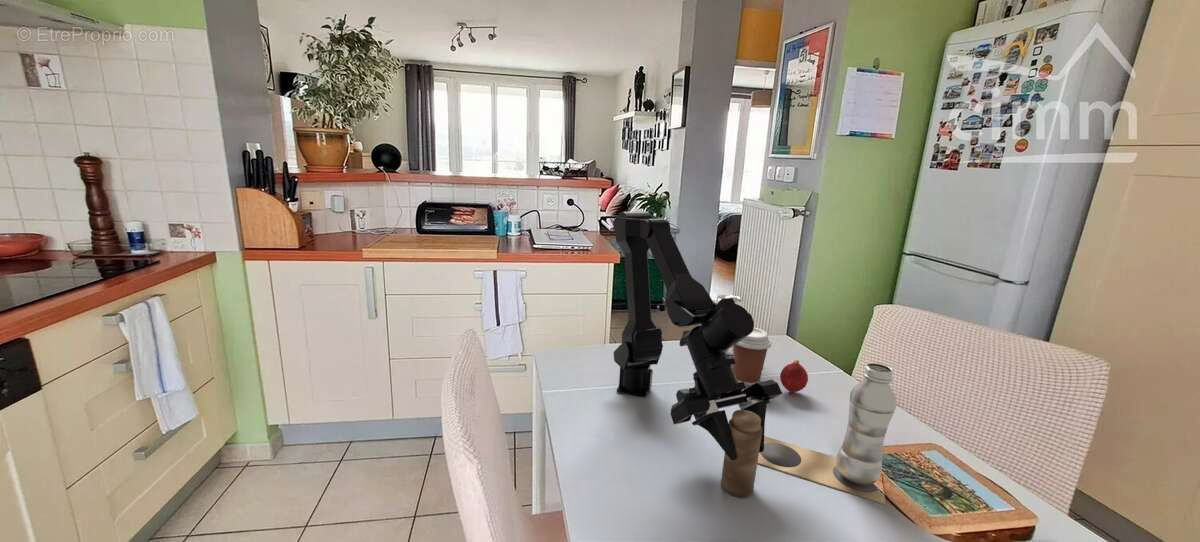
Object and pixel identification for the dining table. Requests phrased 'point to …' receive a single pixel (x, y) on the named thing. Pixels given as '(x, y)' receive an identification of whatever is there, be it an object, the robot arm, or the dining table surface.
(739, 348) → the coffee cup
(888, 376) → the plastic bottle
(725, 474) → the pepper mill
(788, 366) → the onion
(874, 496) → the board
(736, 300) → the white pump bottle
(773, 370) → the dining table surface
